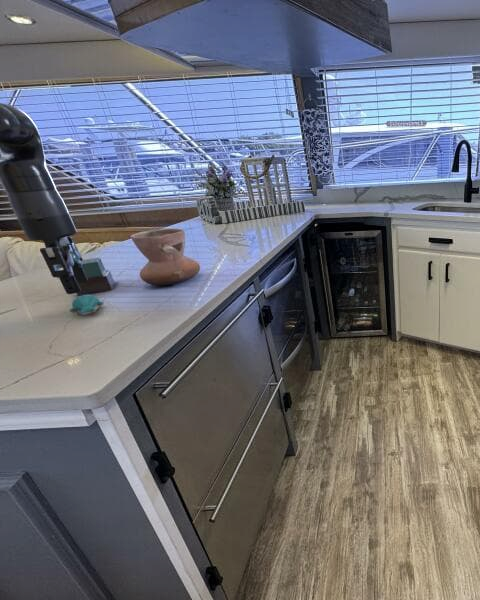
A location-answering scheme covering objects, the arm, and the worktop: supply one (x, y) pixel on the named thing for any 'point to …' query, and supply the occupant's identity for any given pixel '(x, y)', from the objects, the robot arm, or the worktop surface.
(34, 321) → the worktop surface
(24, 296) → the worktop surface
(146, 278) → the ceramic jug
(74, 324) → the worktop surface
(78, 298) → the toy turtle
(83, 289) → the walnut block
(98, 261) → the green block
